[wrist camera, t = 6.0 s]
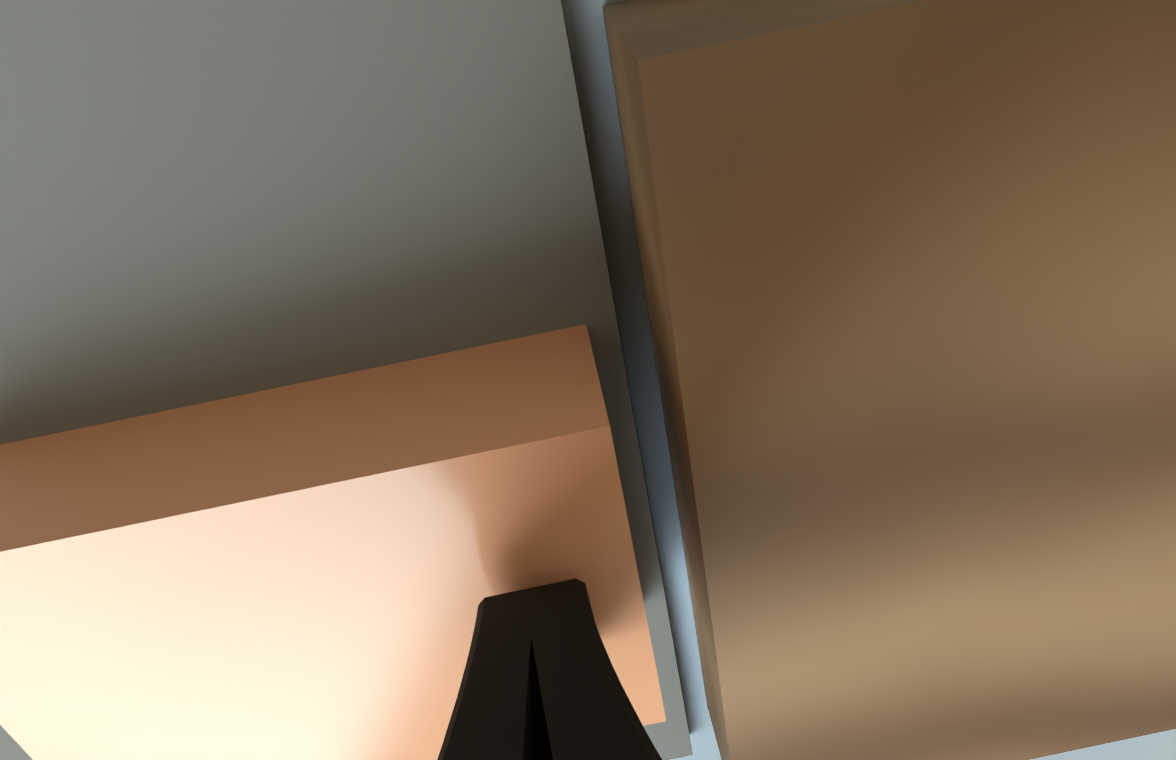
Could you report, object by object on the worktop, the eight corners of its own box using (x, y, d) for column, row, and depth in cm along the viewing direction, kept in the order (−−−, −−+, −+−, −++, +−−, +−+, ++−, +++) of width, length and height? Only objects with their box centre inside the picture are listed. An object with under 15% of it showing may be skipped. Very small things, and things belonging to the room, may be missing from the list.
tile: (640, 604, 16) (666, 720, 14) (149, 706, 16) (106, 838, 14) (585, 324, 12) (609, 426, 10) (-40, 452, 12) (-135, 579, 10)
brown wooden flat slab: (1358, 567, 18) (1471, 665, 16) (707, 705, 18) (738, 820, 16) (1748, -232, 11) (2060, -236, 8) (602, 6, 10) (637, 60, 8)
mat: (688, 737, 19) (693, 754, 19) (7, 881, 19) (-1, 900, 19) (506, -299, 9) (507, -301, 8) (-979, 7, 9) (-1033, 15, 8)
